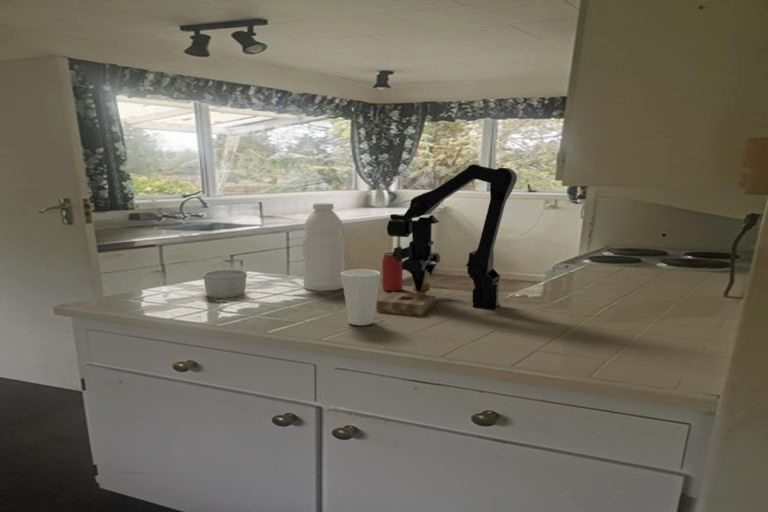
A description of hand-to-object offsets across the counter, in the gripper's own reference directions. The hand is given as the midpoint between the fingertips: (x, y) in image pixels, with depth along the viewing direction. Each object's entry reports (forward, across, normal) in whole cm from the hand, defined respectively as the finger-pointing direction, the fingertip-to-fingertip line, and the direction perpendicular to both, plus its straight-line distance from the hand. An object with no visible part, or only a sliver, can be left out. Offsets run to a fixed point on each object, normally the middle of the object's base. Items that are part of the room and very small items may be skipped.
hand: (421, 289), depth 160 cm
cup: (+3, +32, -5) cm, 32 cm away
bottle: (+3, -4, -36) cm, 36 cm away
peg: (+3, 0, 0) cm, 3 cm away
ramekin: (+3, +18, -59) cm, 62 cm away
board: (+3, +13, 0) cm, 13 cm away
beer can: (+3, -9, -13) cm, 16 cm away
